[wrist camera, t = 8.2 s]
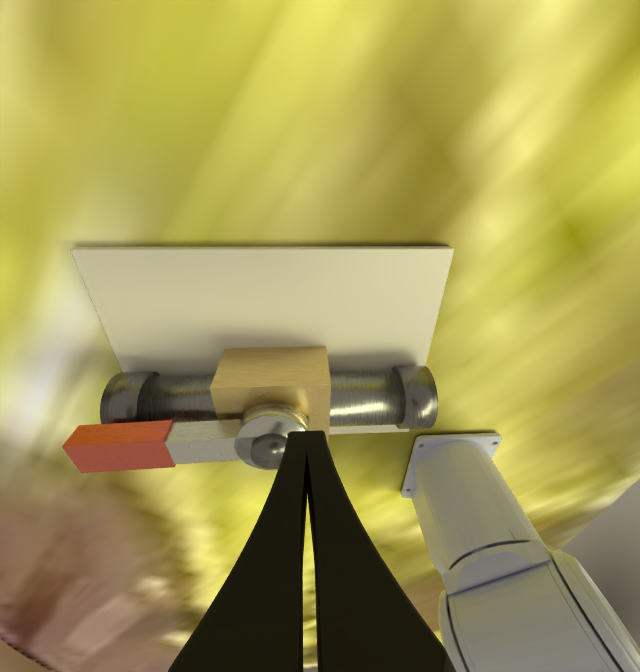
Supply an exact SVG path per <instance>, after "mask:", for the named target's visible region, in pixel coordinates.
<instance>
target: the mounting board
mask: <svg viewBox="0 0 640 672" xmlns="http://www.w3.org/2000/svg"><path fill="white" fill-rule="evenodd" d="M70 251H71V253H72V255H73V258H74V260H75V262H76V265H77V267H78V269H79V272H80V274H81V276H82V279H83V281H84V283H85V286H86V288H87V290H88V293H89V295H90V298H91V300H92V302H93V305H94V307H95V309H96V312H97V314H98V316H99V319H100V321H101V323H102V326H103V328H104V330H105V333H106V335H107V337H108V340H109V342H110V344H111V347H112V349H113V351H114V354H115V356H116V358H117V361H118V363H119V365H120V368H121V370H122V372H149V371H154V372H158V373H159V374H160V376H165V375H209V374H215V373H216V371H217V368H218V365H219V363H220V360H221V358H222V355H223V352H224V350H225V348H257V347H311V346H326V349H327V357H328V365H329V372H339V371H382V370H392V368H393V367H394V366H418V365H423V366H425V365H426V361H427V357H428V353H429V348H430V344H431V340H432V336H433V332H434V328H435V324H436V320H437V316H438V312H439V308H440V304H441V300H442V296H443V292H444V288H445V284H446V280H447V276H448V272H449V268H450V264H451V260H452V256H453V252H454V249H453V248H452V247H450V246H301V247H75V248H73V249H71V250H70ZM386 432H409V429H398V428H397V427H396V425H372V426H342V427H329V434H356V433H386Z"/></svg>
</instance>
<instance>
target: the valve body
mask: <svg viewBox="0 0 640 672" xmlns="http://www.w3.org/2000/svg"><path fill="white" fill-rule="evenodd" d="M265 403H281V404H286V405H290V406H292V407H294V408H296V409H298V410H299V411H301V412H302V413H303V414H304V415H305V416H306V418H307V420H308V422H309V431H317V430H323V431H324V432H325V435H326V440H327V444H328V446H329V427H342V426H372V425H396V427H397V428H398V429H419V428H431V427H432V426H433V425H434V423H435V421H436V417H437V411H438V397H437V390H436V385H435V381H434V378H433V376H432V374H431V372H430V370H429V369H428V368H427V367H426V366H423V365H418V366H394V367H393V368H392V370H382V371H339V372H329V365H328V357H327V349H326V346H311V347H257V348H225V350H224V352H223V355H222V358H221V360H220V363H219V365H218V368H217V371H216V373H215V374H209V375H165V376H160V374H159V373H158V372H154V371H149V372H121V373H118V374H116V375H115V376H114V377H113V378H112V379H111V380H110V381H109V383H108V384H107V386H106V388H105V390H104V393H103V396H102V399H101V405H100V419H101V424H114V423H131V422H149V421H166V420H173V423H183V422H200V421H217V420H234V419H241V417H242V416H243V414H244V413H245V412H246V411H248V410H249V409H251V408H253V407H255V406H257V405H260V404H265Z"/></svg>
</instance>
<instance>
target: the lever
mask: <svg viewBox="0 0 640 672" xmlns="http://www.w3.org/2000/svg"><path fill="white" fill-rule="evenodd" d="M290 431H309V422H308V420H307V418H306V416H305V415H304V414H303V413H302V412H301V411H299V410H298V409H296V408H294V407H292V406H290V405H286V404H281V403H265V404H260V405H257V406H255V407H253V408H251V409H249V410H248V411H246V412H245V413H244V414H243V416H242V417H241V419H234V420H217V421H200V422H183V423H173V420H166V421H149V422H131V423H114V424H97V425H80V426H78V427H77V429H76V430H75V431H74V432H73V434H72V435H71V436H70V437H69V439H68V440H67V441H66V442H65V443H64V445H63V446H62V447H63V449H64V450H65V452H66V453H67V454H68V456H69V457H70V458H71V460H72V461H73V462H74V464H75V465H76V466H77V468H78V469H79V470H80V472H81V473H88V472H104V471H120V470H136V469H152V468H168V467H175V465H176V464H186V463H202V462H218V461H234V460H242V461H244V462H245V463H247V464H249V465H250V466H253V467H256V468H259V469H264V470H278V469H279V466H280V463H281V460H282V457H283V453H284V450H285V445H286V441H287V434H288V433H289V432H290Z"/></svg>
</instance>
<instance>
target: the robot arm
mask: <svg viewBox="0 0 640 672" xmlns="http://www.w3.org/2000/svg"><path fill="white" fill-rule="evenodd" d="M501 440H502V437H501V435H500V434H499V433H480V434H451V435H422V436H418V437H417V438H416V440H415V443H414V447H413V451H412V454H411V458H410V462H409V465H408V469H407V473H406V476H405V480H404V484H403V487H402V491H401V495H402V497H403V498H412V502H413V505H414V508H415V511H416V514H417V517H418V520H419V524H420V527H421V530H422V533H423V536H424V539H425V543H426V546H427V549H428V552H429V555H430V557H431V560H432V562H433V564H434V565H435V567H436V569H437V570H438V571H439V572H440V574H441V576H442V579H443V582H444V585H445V588H446V589H445V590H443V591H442V592H441V594H440V598H439V607H438V621H439V628H440V632H441V637H442V641H443V644H444V646H443V645H442V644H441V642H440V641H439V640H438V638H437V637H436V636H435V634H434V633H433V632H432V630H431V629H430V628H429V626H428V625H427V624H426V622H425V621H424V620H423V618H422V617H421V616H420V614H419V613H418V611H417V610H416V609H415V607H414V606H413V604H412V603H411V601H410V600H409V599H408V597H407V596H406V594H405V593H404V591H403V590H402V589H401V587H400V586H399V584H398V582H397V581H396V579H395V578H394V576H393V575H392V573H391V572H390V570H389V569H388V567H387V566H386V564H385V562H384V561H383V559H382V558H381V556H380V555H379V553H378V551H377V550H376V548H375V546H374V544H373V543H372V541H371V539H370V538H369V536H368V534H367V532H366V531H365V529H364V527H363V525H362V523H361V522H360V520H359V518H358V516H357V514H356V512H355V510H354V508H353V506H352V504H351V502H350V500H349V498H348V496H347V493H346V491H345V489H344V487H343V484H342V482H341V480H340V477H339V475H338V473H337V470H336V468H335V465H334V462H333V459H332V457H331V454H330V450H329V447H328V444H327V440H326V435H325V432H324V431H323V430H317V431H290V432H289V433H288V434H287V441H286V445H285V450H284V453H283V457H282V460H281V463H280V466H279V469H278V472H277V475H276V477H275V480H274V483H273V486H272V488H271V491H270V493H269V495H268V498H267V500H266V503H265V505H264V507H263V510H262V512H261V514H260V516H259V518H258V521H257V523H256V525H255V527H254V529H253V531H252V533H251V535H250V537H249V539H248V541H247V543H246V545H245V547H244V549H243V550H242V552H241V554H240V556H239V558H238V560H237V561H236V563H235V565H234V567H233V569H232V570H231V572H230V574H229V576H228V577H227V579H226V581H225V583H224V584H223V586H222V588H221V589H220V591H219V592H218V594H217V596H216V597H215V599H214V601H213V602H212V604H211V606H210V607H209V609H208V610H207V612H206V614H205V615H204V617H203V618H202V620H201V622H200V623H199V625H198V626H197V628H196V629H195V631H194V632H193V634H192V635H191V637H190V638H189V640H188V641H187V643H186V644H185V646H184V647H183V649H182V650H181V652H180V653H179V655H178V656H177V658H176V659H175V661H174V662H173V664H172V665H171V667H170V668H169V670H168V672H303V551H304V536H305V521H306V506H307V493H308V503H309V513H310V523H311V532H312V542H313V552H314V564H315V588H316V623H317V659H318V672H640V649H639V648H638V646H637V645H636V643H635V642H634V640H633V639H632V637H631V635H630V634H629V633H628V631H627V630H626V628H625V627H624V625H623V624H622V622H621V621H620V619H619V618H618V616H617V615H616V613H615V612H614V611H613V609H612V607H611V606H610V605H609V603H608V602H607V600H606V599H605V598H604V596H603V595H602V593H601V592H600V590H599V589H598V588H597V586H596V585H595V583H594V582H593V580H592V579H591V578H590V576H589V575H588V574H587V572H586V571H585V570H584V568H583V567H582V566H581V564H580V563H579V562H578V561H577V560H576V559H575V558H574V557H572V556H570V555H568V554H565V553H564V552H563V551H561V550H557V551H555V552H553V553H552V552H551V551H550V550H549V549H548V548H547V547H546V546H545V544H544V543H543V541H542V540H541V538H540V536H539V535H538V533H537V531H536V530H535V528H534V527H533V525H532V523H531V522H530V520H529V519H528V517H527V515H526V514H525V512H524V510H523V509H522V507H521V506H520V504H519V502H518V501H517V499H516V497H515V496H514V494H513V493H512V491H511V489H510V488H509V486H508V485H507V483H506V481H505V480H504V478H503V476H502V475H501V473H500V472H499V470H498V468H497V467H496V465H495V464H494V462H493V460H492V458H493V456H494V454H495V452H496V450H497V448H498V446H499V444H500V442H501ZM444 647H445V648H444Z"/></svg>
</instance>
